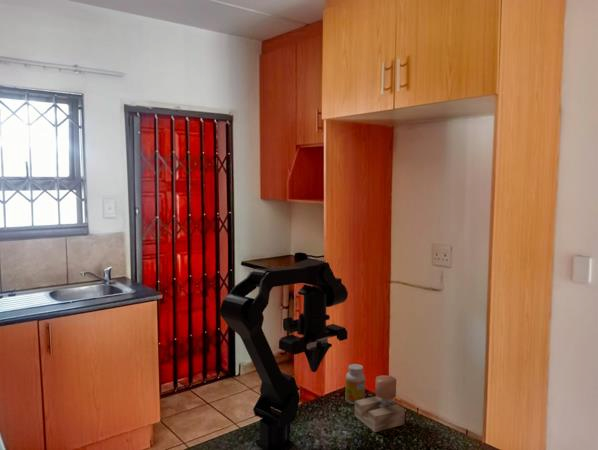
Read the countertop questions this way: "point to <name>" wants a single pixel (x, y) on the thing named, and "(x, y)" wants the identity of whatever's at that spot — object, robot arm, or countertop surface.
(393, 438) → the countertop surface
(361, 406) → the knob track
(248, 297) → the robot arm
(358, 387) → the supplement bottle
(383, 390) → the knob
